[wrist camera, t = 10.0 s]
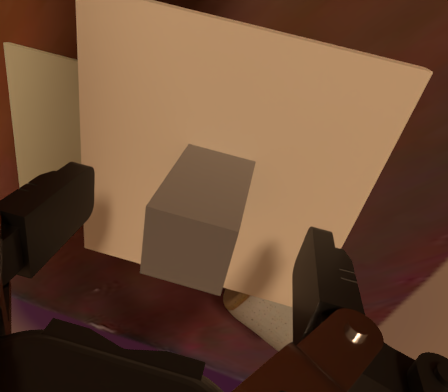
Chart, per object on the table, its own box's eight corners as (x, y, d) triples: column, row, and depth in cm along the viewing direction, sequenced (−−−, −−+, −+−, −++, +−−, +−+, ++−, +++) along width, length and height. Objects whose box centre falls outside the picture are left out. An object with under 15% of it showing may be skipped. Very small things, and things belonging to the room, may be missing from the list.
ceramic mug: (265, 232, 35) (258, 285, 29) (325, 274, 37) (332, 334, 30) (209, 287, 41) (192, 342, 34) (264, 322, 42) (258, 382, 35)
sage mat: (8, 42, 30) (3, 42, 30) (170, 83, 30) (168, 84, 29) (23, 186, 38) (19, 189, 37) (153, 222, 37) (151, 225, 37)
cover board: (86, -17, 13) (-40, -17, 8) (425, 67, 12) (507, 121, 8) (91, 239, 20) (25, 320, 15) (307, 300, 20) (310, 405, 15)
